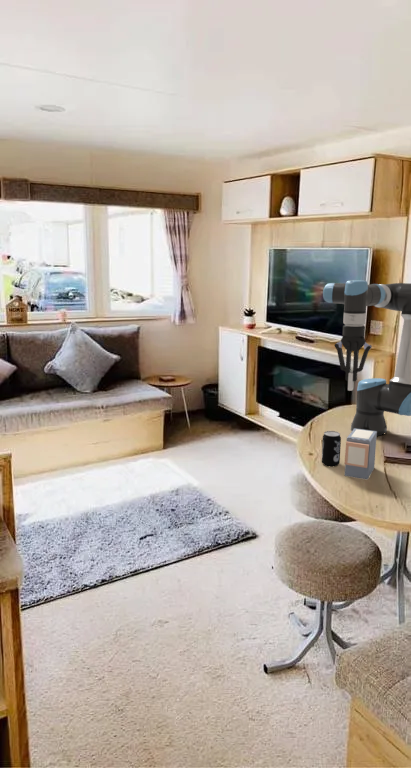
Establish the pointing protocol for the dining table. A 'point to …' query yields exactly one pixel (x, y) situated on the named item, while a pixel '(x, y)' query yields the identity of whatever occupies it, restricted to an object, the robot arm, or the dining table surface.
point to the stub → (356, 454)
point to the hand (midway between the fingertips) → (350, 389)
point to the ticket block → (369, 439)
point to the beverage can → (331, 448)
